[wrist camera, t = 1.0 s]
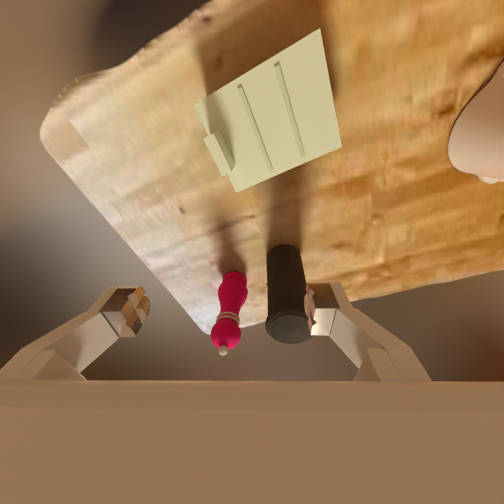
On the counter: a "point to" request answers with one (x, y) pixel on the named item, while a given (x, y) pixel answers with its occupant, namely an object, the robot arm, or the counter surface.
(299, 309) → the container
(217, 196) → the counter surface
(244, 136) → the lid
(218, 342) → the pepper mill
